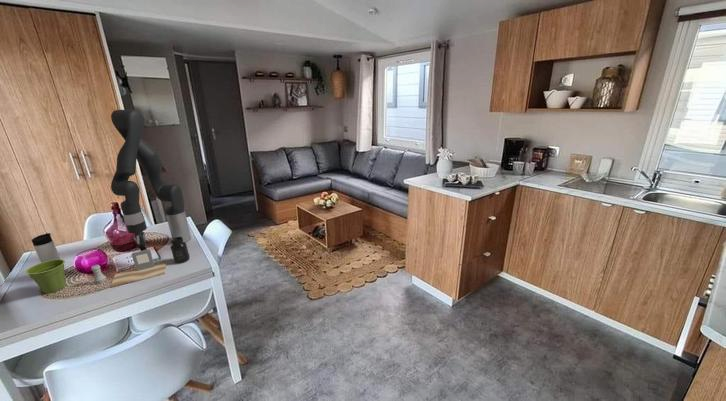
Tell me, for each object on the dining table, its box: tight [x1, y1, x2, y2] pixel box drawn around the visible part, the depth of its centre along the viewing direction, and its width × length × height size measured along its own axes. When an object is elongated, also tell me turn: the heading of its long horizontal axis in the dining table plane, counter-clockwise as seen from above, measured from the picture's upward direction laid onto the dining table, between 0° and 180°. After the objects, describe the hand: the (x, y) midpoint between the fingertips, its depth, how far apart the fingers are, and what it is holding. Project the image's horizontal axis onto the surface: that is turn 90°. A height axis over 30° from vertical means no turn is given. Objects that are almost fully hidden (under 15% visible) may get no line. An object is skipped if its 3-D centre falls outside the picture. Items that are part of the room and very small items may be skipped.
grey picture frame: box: [131, 248, 156, 271], centre depth 141 cm, size 2×7×9 cm, turn 120°
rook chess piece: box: [90, 264, 108, 285], centre depth 132 cm, size 4×4×8 cm
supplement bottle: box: [170, 237, 191, 264], centre depth 148 cm, size 7×7×12 cm
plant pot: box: [25, 258, 67, 294], centre depth 128 cm, size 12×12×11 cm
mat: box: [110, 261, 167, 289], centre depth 138 cm, size 12×20×1 cm, turn 120°
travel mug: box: [31, 232, 66, 273], centre depth 138 cm, size 6×7×20 cm
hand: (144, 253), depth 146 cm, fingers closed
